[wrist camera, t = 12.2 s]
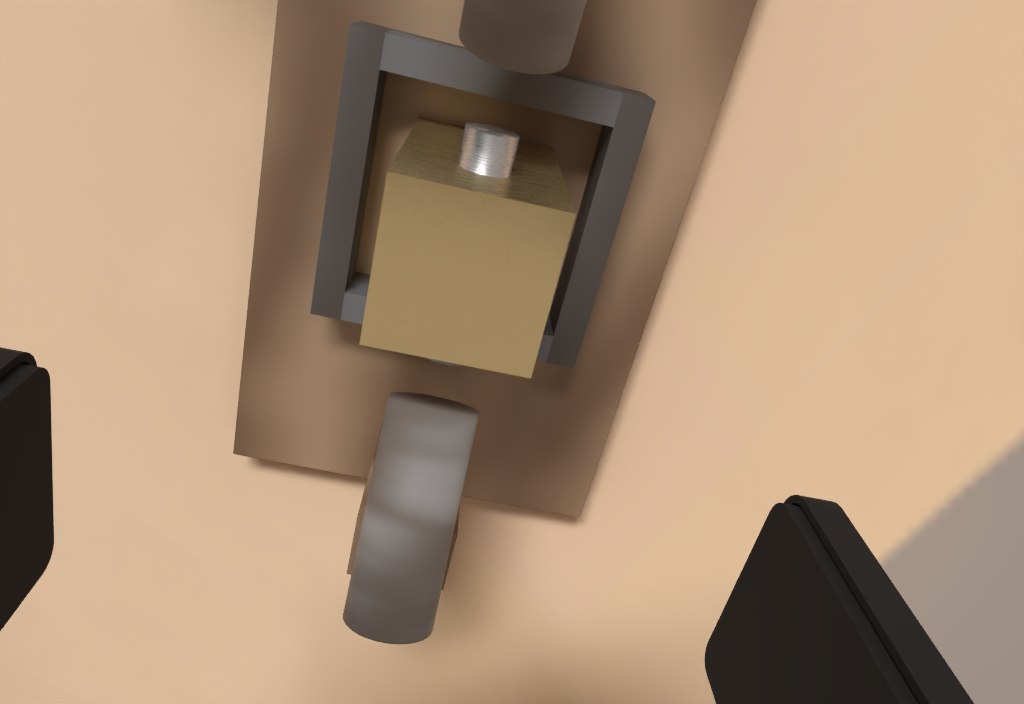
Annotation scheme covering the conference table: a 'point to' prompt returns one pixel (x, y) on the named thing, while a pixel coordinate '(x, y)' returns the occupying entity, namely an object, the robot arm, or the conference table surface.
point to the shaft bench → (352, 237)
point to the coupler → (468, 248)
